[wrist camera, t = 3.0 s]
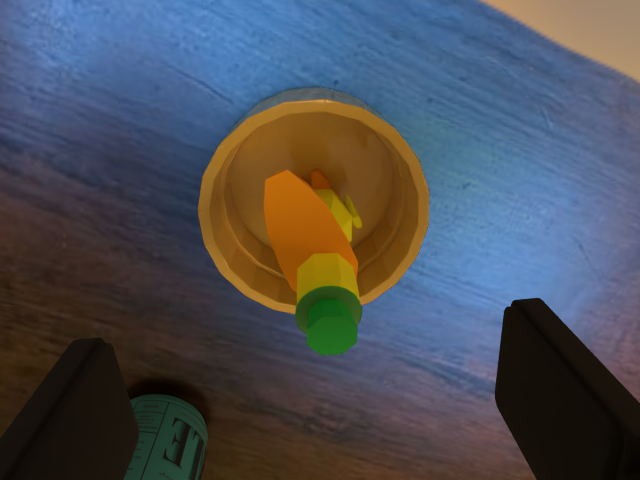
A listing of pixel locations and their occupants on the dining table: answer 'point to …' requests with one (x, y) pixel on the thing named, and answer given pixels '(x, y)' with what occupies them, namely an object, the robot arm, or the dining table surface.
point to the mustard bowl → (301, 159)
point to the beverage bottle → (167, 440)
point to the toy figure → (316, 256)
